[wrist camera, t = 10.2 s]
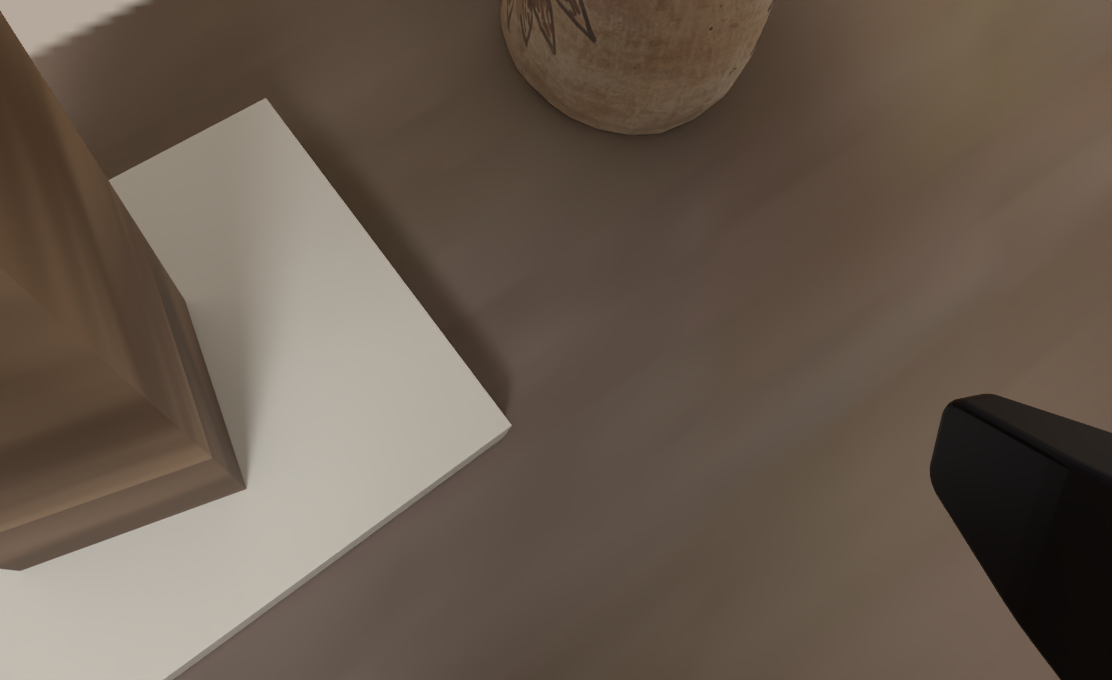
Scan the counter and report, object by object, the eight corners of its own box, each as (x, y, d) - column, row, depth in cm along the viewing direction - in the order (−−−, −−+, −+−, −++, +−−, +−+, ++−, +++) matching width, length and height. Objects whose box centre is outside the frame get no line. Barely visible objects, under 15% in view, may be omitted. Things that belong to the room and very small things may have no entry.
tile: (503, 437, 22) (511, 425, 20) (-66, 854, 17) (-106, 875, 16) (272, 129, 23) (265, 97, 22) (-313, 444, 19) (-370, 430, 17)
